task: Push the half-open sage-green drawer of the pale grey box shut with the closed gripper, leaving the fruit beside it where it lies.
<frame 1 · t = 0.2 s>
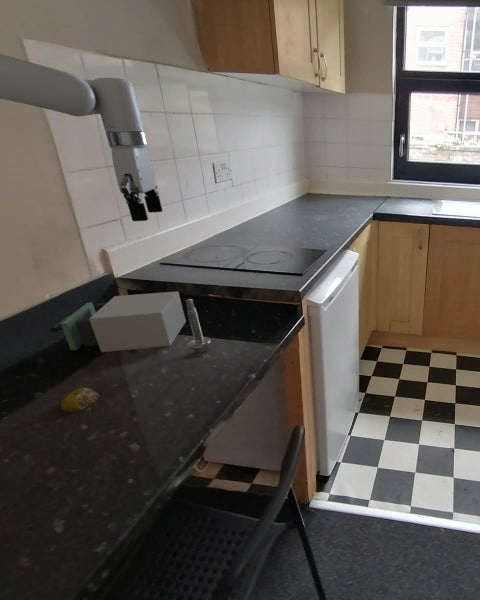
hand: (148, 216, 98), 27 cm above the counter, tool pointing down, fingers open, 9 cm apart
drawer: (100, 323, 95), point 4 cm above the counter, slide at 5.0 cm
screw: (201, 351, 92), on the counter
pale grey box: (146, 335, 98), on the counter
fruit: (94, 410, 73), on the counter
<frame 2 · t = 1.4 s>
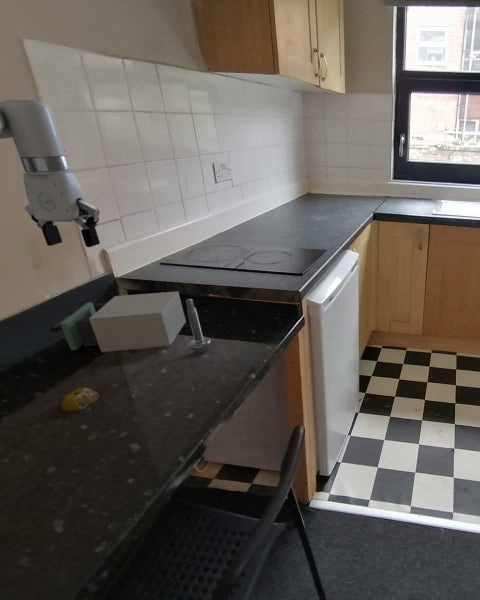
hand: (74, 244, 91), 23 cm above the counter, tool pointing down, fingers open, 9 cm apart
nothing on the counter moved.
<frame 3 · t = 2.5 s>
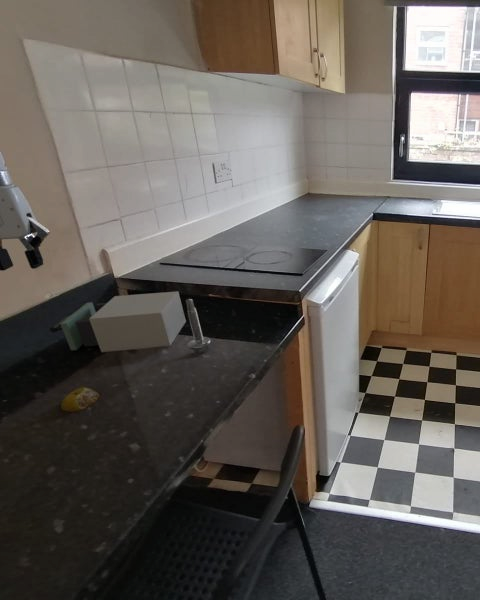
hand: (22, 266, 87), 19 cm above the counter, tool pointing down, fingers open, 5 cm apart
nothing on the counter moved.
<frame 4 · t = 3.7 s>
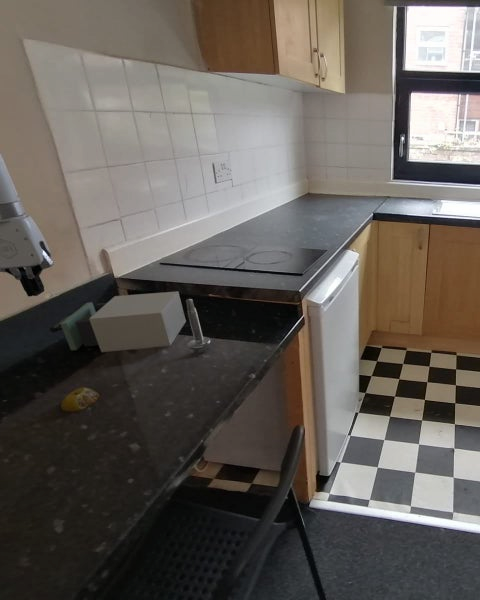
hand: (36, 293, 90), 13 cm above the counter, tool pointing down, fingers closed
nothing on the counter moved.
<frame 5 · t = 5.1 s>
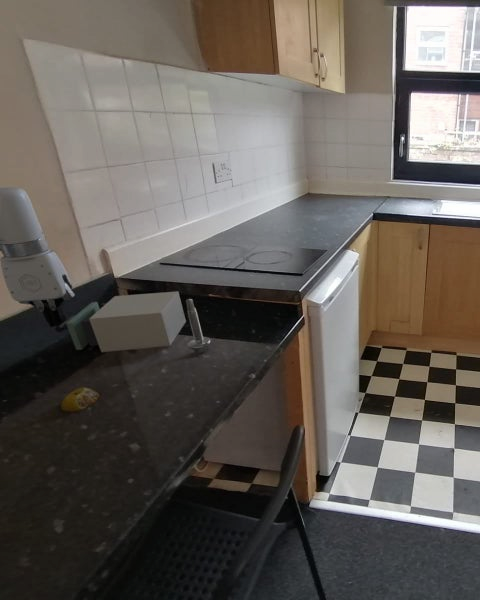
hand: (58, 323, 93), 5 cm above the counter, tool pointing down, fingers closed
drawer: (106, 323, 95), point 4 cm above the counter, slide at 3.9 cm, touching gripper
everything else where it was.
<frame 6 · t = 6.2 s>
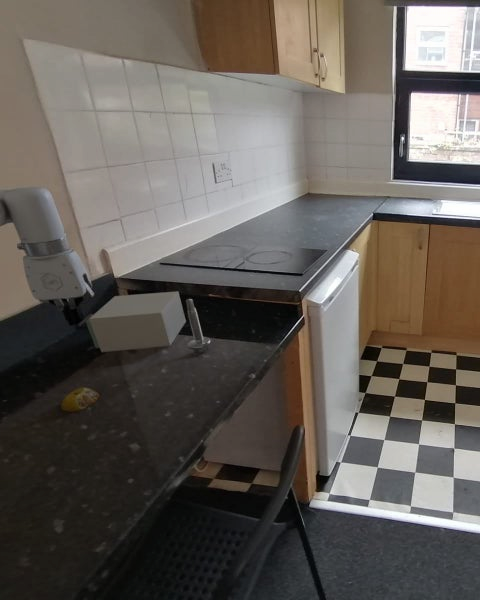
hand: (76, 322, 94), 5 cm above the counter, tool pointing down, fingers closed
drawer: (124, 321, 96), point 4 cm above the counter, slide at 0.0 cm, touching pale grey box, gripper
everything else where it was.
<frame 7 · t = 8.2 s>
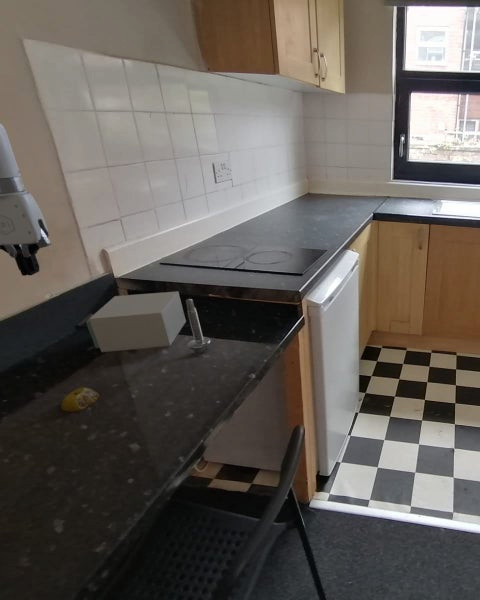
hand: (31, 273, 87), 18 cm above the counter, tool pointing down, fingers closed
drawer: (124, 321, 96), point 4 cm above the counter, slide at 0.0 cm
everything else where it was.
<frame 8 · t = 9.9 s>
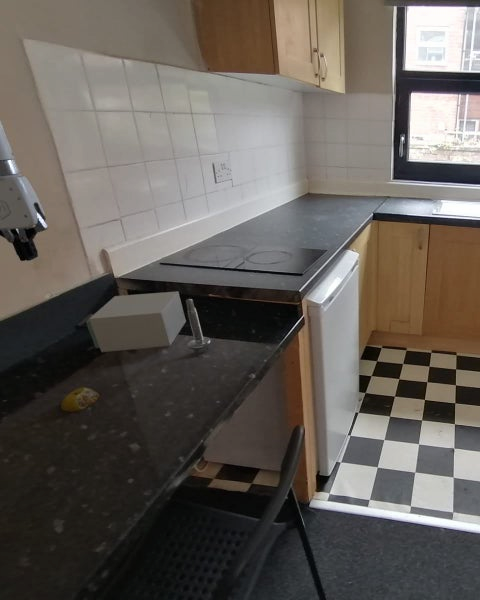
hand: (29, 258, 87), 21 cm above the counter, tool pointing down, fingers closed
nothing on the counter moved.
at the end: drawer slide at 0.0 cm; fruit moved 0.2 cm from its start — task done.
